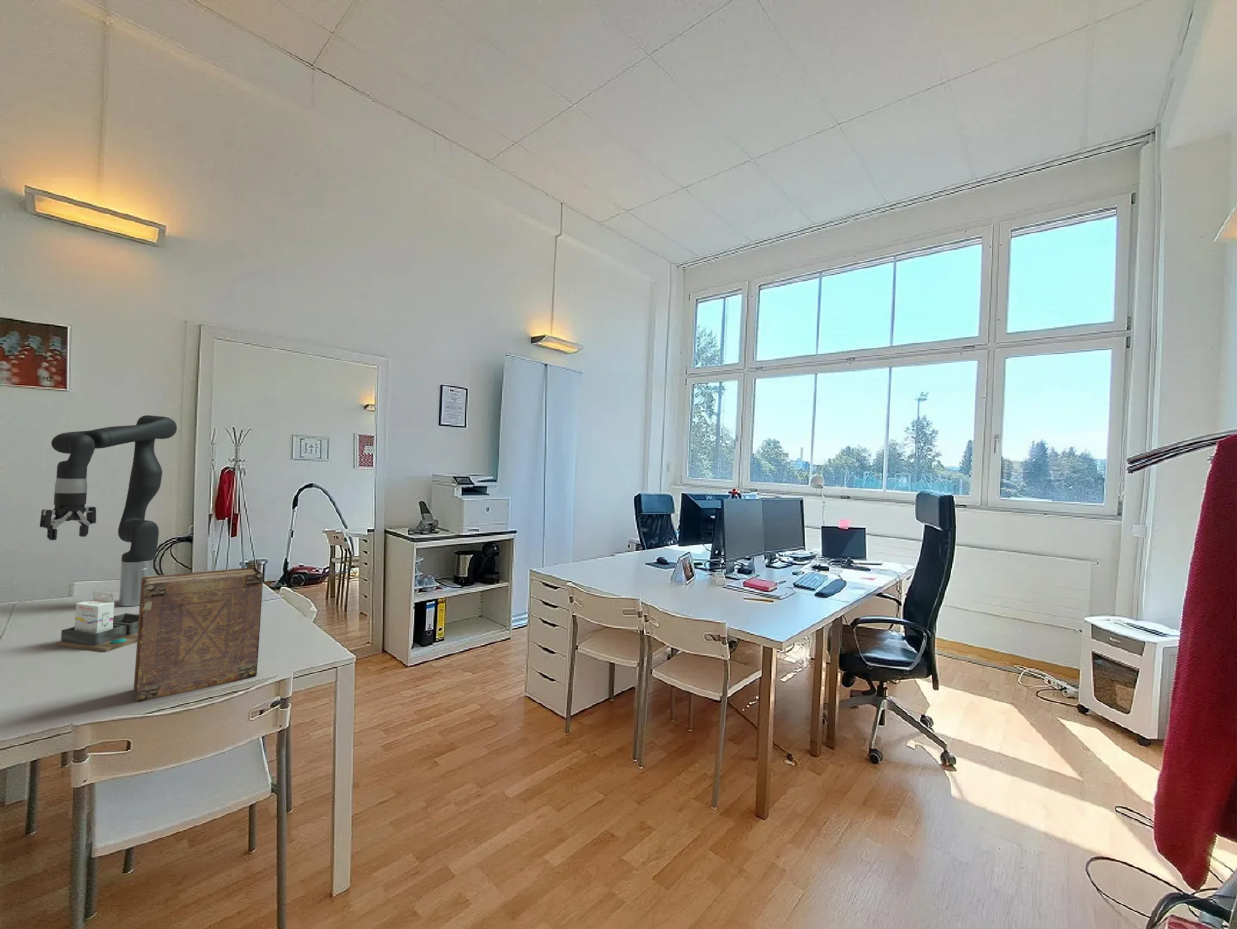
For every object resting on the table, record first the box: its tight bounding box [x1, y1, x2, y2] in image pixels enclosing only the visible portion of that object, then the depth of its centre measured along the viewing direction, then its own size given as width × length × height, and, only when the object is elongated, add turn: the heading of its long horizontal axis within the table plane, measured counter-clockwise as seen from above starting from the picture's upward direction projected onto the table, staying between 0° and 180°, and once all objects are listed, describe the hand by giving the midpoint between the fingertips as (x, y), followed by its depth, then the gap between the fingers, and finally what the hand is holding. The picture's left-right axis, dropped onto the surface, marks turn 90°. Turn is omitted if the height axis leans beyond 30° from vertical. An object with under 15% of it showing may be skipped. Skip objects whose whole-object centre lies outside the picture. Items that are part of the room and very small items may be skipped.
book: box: [133, 566, 264, 703], centre depth 138 cm, size 25×9×30 cm, turn 136°
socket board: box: [56, 612, 139, 653], centre depth 164 cm, size 20×18×4 cm
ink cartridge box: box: [74, 590, 115, 633], centre depth 159 cm, size 9×5×15 cm, turn 82°
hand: (68, 538), depth 171 cm, fingers open, 8 cm apart
